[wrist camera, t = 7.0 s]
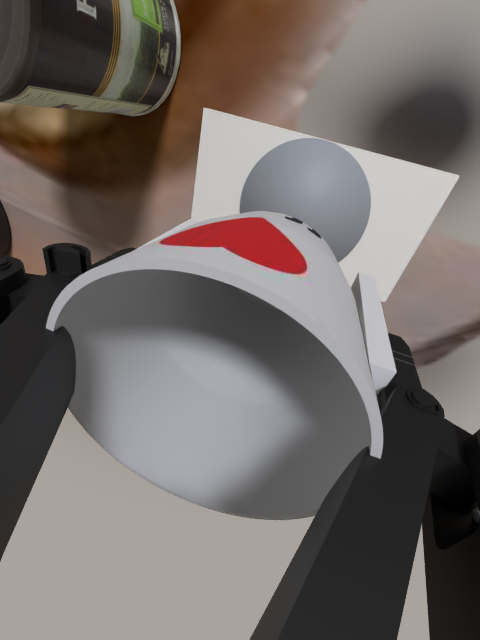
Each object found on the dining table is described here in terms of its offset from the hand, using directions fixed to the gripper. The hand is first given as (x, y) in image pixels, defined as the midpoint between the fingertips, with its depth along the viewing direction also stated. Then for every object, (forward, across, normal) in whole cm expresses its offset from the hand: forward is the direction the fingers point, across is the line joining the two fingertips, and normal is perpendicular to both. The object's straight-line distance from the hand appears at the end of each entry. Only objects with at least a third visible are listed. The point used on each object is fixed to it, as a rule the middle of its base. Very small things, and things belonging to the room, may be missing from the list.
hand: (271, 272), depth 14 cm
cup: (+1, 0, 0) cm, 1 cm away
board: (+15, 0, 0) cm, 15 cm away
